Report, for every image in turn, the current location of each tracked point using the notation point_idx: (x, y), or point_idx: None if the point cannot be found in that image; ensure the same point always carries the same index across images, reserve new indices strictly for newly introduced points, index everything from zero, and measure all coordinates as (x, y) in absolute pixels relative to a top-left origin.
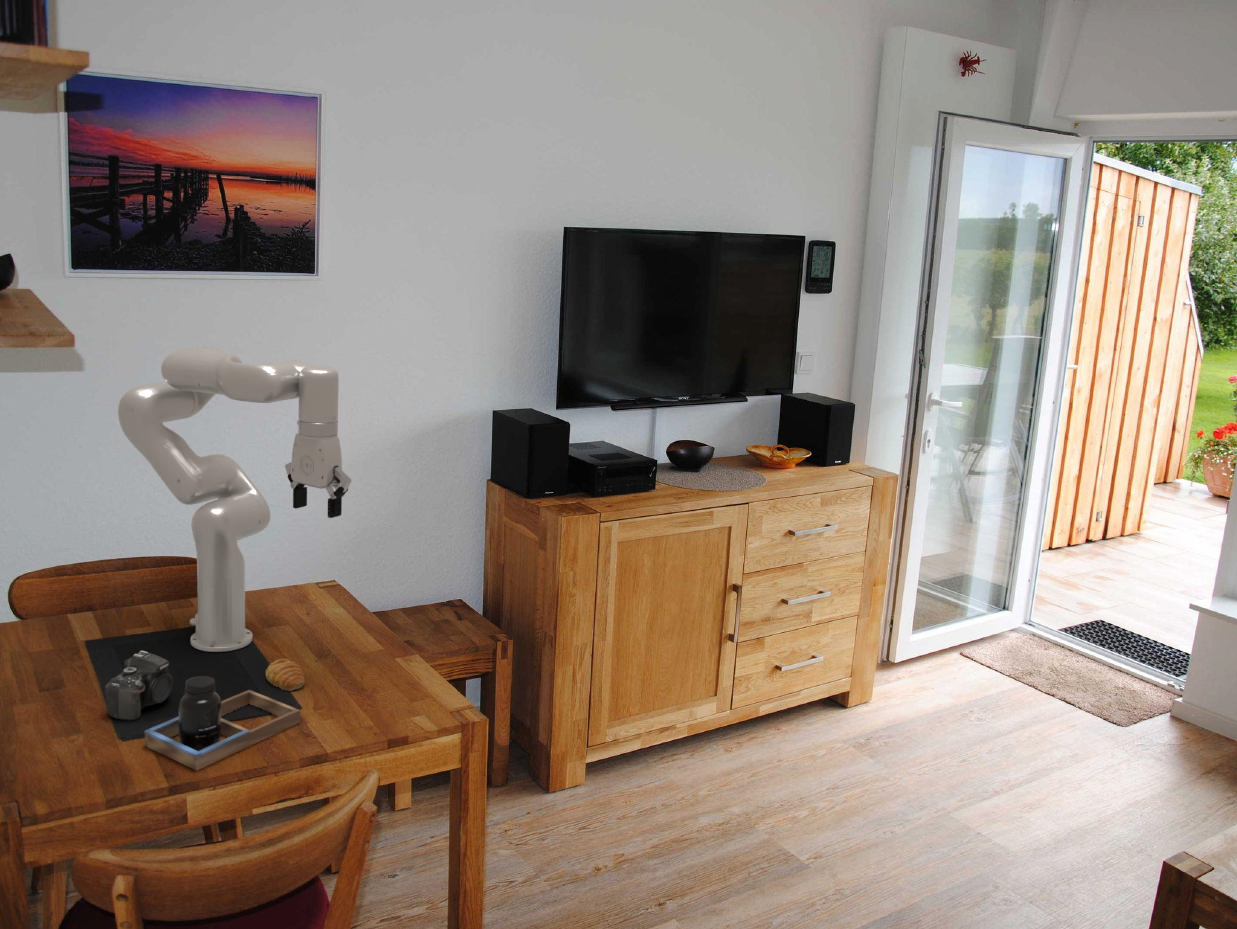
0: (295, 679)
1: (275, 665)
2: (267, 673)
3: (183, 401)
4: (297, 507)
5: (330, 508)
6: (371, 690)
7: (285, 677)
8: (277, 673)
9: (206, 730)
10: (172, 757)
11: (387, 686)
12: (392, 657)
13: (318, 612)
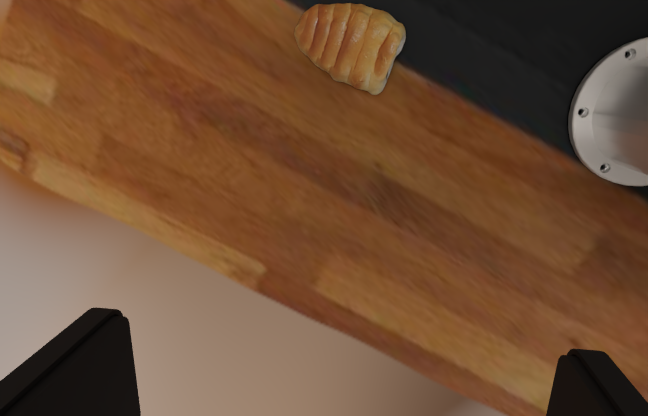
0: (305, 26)
1: (381, 35)
2: (389, 17)
3: None
4: (560, 371)
5: (27, 366)
6: (192, 125)
7: (326, 14)
8: (353, 14)
9: None
10: None
11: (183, 159)
12: (272, 267)
13: None
